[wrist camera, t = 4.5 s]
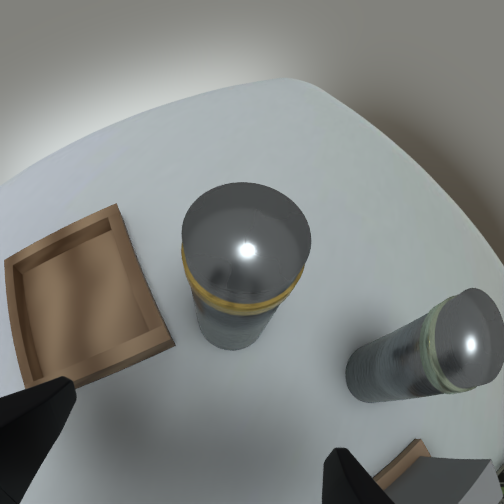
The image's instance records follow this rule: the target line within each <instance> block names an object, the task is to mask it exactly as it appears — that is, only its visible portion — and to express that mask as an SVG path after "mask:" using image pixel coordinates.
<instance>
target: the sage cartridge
mask: <svg viewBox="0 0 504 504" xmlns="http://www.w3.org/2000/svg"><path fill="white" fill-rule="evenodd" d="M503 362H504V323H503V320H502V317H501V314H500V312H499V310H498V308H497V306H496V304H495V303H494V301H493V300H492V299H491V298H490V297H489V296H488V295H487V294H486V293H485V292H483V291H482V290H480V289H476V288H470V289H467V290H465V291H463V292H462V293H460V294H459V295H456V296H452V297H449V298H448V299H446V300H444V301H443V302H441V303H440V304H438V305H436V306H435V307H433V308H432V309H431V310H430V311H429V313H427V314H425V315H424V316H422V317H420V318H418V319H416V320H415V321H413V322H411V323H409V324H407V325H405V326H403V327H401V328H399V329H398V330H396V331H394V332H392V333H390V334H388V335H386V336H384V337H382V338H379V339H377V340H375V341H373V342H371V343H369V344H367V345H365V346H362V347H360V348H359V349H357V350H356V351H355V352H354V353H353V354H352V356H351V357H350V359H349V361H348V364H347V367H346V382H347V386H348V388H349V390H350V392H351V393H352V394H353V395H354V396H355V397H356V398H357V399H359V400H360V401H363V402H367V403H374V402H386V401H396V400H405V399H412V398H420V397H426V396H432V395H438V394H444V393H445V394H456V393H461V392H466V391H469V390H472V389H474V388H476V387H477V386H480V385H484V384H487V383H489V382H491V381H493V380H494V379H495V378H496V376H497V375H498V374H499V372H500V370H501V368H502V365H503Z"/></svg>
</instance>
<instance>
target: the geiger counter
mask: <svg viewBox="0 0 504 504" xmlns="http://www.w3.org/2000/svg"><path fill="white" fill-rule="evenodd" d="M496 474H497V477H498V480H499V483H500V486H501V490H502V493H503V497H502V499H501V500H500V502H499V503H498V504H504V464H503V465H502V467H501V468H500V469H499V470H498V471H497V472H496Z"/></svg>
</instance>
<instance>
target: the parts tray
mask: <svg viewBox="0 0 504 504" xmlns="http://www.w3.org/2000/svg"><path fill="white" fill-rule="evenodd" d="M4 267H5V283H6V295H7V304H8V311H9V318H10V325H11V331H12V336H13V341H14V346H15V351H16V355H17V359H18V364H19V368H20V371H21V375H22V379H23V382H24V385H25V389H27V388H30V387H33V386H36V385H39V384H41V383H44V382H47V381H50V380H52V379H55V378H58V377H60V376H65V377H67V378H69V379H71V380H72V381H73V382H74V386H75V389H76V388H79V387H81V386H84V385H86V384H89V383H91V382H94V381H96V380H99V379H101V378H103V377H106V376H108V375H111V374H113V373H115V372H118V371H120V370H122V369H125V368H127V367H129V366H132V365H134V364H136V363H138V362H141V361H143V360H145V359H147V358H150V357H152V356H154V355H156V354H158V353H161V352H163V351H165V350H167V349H169V348H171V347H174V346H176V345H175V343H174V341H173V339H172V337H171V335H170V333H169V331H168V329H167V327H166V324H165V322H164V320H163V318H162V316H161V314H160V311H159V309H158V307H157V305H156V303H155V300H154V298H153V296H152V293H151V291H150V289H149V286H148V284H147V282H146V279H145V277H144V274H143V272H142V269H141V267H140V264H139V262H138V259H137V257H136V254H135V251H134V249H133V246H132V243H131V241H130V238H129V235H128V232H127V229H126V227H125V224H124V221H123V218H122V216H121V213H120V211H119V208H118V206H117V203H116V204H114V205H111V206H109V207H107V208H104V209H102V210H100V211H98V212H96V213H93V214H91V215H89V216H87V217H85V218H83V219H80V220H78V221H76V222H74V223H72V224H70V225H68V226H66V227H64V228H62V229H60V230H58V231H56V232H54V233H52V234H50V235H48V236H46V237H45V238H43V239H41V240H39V241H37V242H35V243H33V244H32V245H30V246H28V247H26V248H24V249H23V250H21V251H19V252H17V253H16V254H14V255H12V256H10V257H9V258H7V259H5V260H4Z"/></svg>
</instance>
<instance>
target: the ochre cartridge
mask: <svg viewBox="0 0 504 504" xmlns="http://www.w3.org/2000/svg"><path fill="white" fill-rule="evenodd" d="M310 249H311V233H310V228H309V225H308V222H307V220H306V218H305V216H304V214H303V213H302V211H301V210H300V209H299V208H298V206H297V205H296V204H295V203H294V202H293V201H292V200H290V199H289V198H288V197H287V196H285V195H284V194H282V193H280V192H279V191H277V190H275V189H272V188H270V187H267V186H264V185H260V184H256V183H247V182H238V183H230V184H225V185H221V186H218V187H215V188H213V189H211V190H209V191H207V192H206V193H204V194H203V195H201V196H200V197H199V198H198V199H197V200H196V201H195V202H194V203H193V204H192V205H191V207H190V208H189V210H188V211H187V213H186V216H185V218H184V221H183V225H182V248H181V253H182V261H183V265H184V270H185V274H186V278H187V280H188V282H189V284H190V286H191V289H192V294H193V299H194V303H195V308H196V312H197V317H198V321H199V325H200V329H201V331H202V333H203V335H204V336H205V338H206V339H207V340H208V341H209V342H210V343H212V344H213V345H215V346H216V347H218V348H221V349H225V350H240V349H243V348H246V347H248V346H250V345H251V344H253V343H254V342H255V341H256V340H257V339H258V337H259V336H260V334H261V333H262V331H263V330H264V328H265V327H266V325H267V324H268V322H269V321H270V319H271V318H272V316H273V314H274V313H275V311H276V310H277V308H278V307H279V305H280V303H282V302H283V301H284V300H285V299H286V298H287V297H288V296H289V294H290V293H291V291H292V290H293V288H294V287H295V285H296V284H297V282H298V281H299V279H300V277H301V275H302V273H303V270H304V266H305V263H306V261H307V258H308V256H309V253H310Z"/></svg>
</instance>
